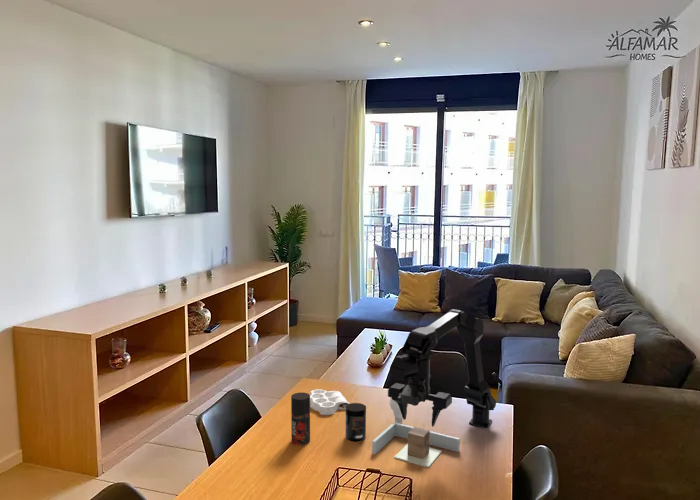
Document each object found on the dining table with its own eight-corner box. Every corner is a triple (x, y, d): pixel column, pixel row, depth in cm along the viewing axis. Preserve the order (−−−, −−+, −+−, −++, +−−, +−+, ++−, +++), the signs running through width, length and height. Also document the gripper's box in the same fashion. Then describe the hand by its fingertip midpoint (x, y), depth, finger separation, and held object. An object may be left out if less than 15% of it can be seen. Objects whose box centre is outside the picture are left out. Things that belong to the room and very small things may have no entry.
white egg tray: (352, 413, 190) (313, 418, 185) (338, 394, 207) (302, 399, 202) (352, 404, 189) (313, 409, 185) (338, 386, 206) (302, 390, 202)
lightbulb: (406, 429, 175) (407, 398, 174) (388, 427, 177) (388, 396, 175) (408, 421, 182) (409, 391, 180) (390, 420, 183) (390, 389, 182)
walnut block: (413, 448, 162) (414, 426, 161) (429, 452, 159) (429, 430, 159) (407, 454, 157) (407, 432, 157) (423, 459, 155) (423, 436, 154)
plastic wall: (393, 433, 172) (393, 422, 172) (459, 450, 161) (459, 438, 161) (372, 453, 159) (372, 441, 159) (442, 473, 148) (442, 460, 147)
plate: (409, 443, 166) (409, 441, 166) (441, 451, 160) (441, 450, 160) (394, 458, 156) (394, 456, 156) (428, 467, 151) (428, 466, 151)
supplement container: (359, 431, 174) (360, 401, 173) (369, 440, 168) (370, 409, 167) (341, 435, 171) (341, 405, 170) (351, 444, 165) (351, 412, 164)
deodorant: (313, 439, 168) (313, 394, 167) (304, 446, 163) (304, 400, 161) (297, 435, 171) (297, 391, 169) (288, 443, 165) (287, 397, 164)
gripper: (380, 374, 153) (379, 425, 155) (440, 386, 144) (438, 440, 146) (395, 364, 163) (394, 412, 164) (453, 375, 154) (451, 425, 155)
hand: (418, 422), depth 157 cm, fingers open, 9 cm apart
